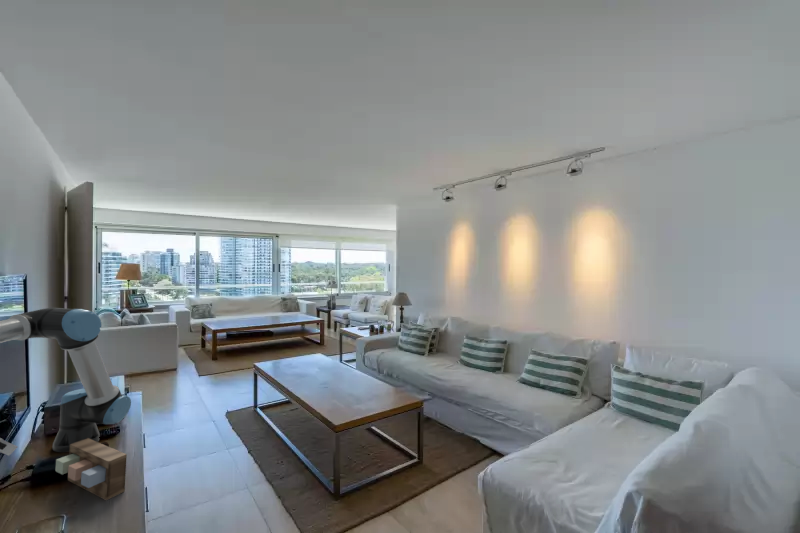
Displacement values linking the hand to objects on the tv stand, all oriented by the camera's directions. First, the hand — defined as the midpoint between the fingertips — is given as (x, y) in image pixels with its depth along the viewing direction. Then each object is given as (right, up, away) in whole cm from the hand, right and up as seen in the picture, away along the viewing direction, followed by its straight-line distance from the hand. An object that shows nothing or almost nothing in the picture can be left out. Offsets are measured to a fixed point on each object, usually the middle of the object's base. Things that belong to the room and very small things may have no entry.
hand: (5, 447), depth 112 cm
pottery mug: (+1, -22, +30) cm, 37 cm away
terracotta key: (+13, -16, +12) cm, 23 cm away
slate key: (+20, -16, +8) cm, 27 cm away
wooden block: (+15, -22, +16) cm, 31 cm away
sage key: (+6, -15, +15) cm, 22 cm away
